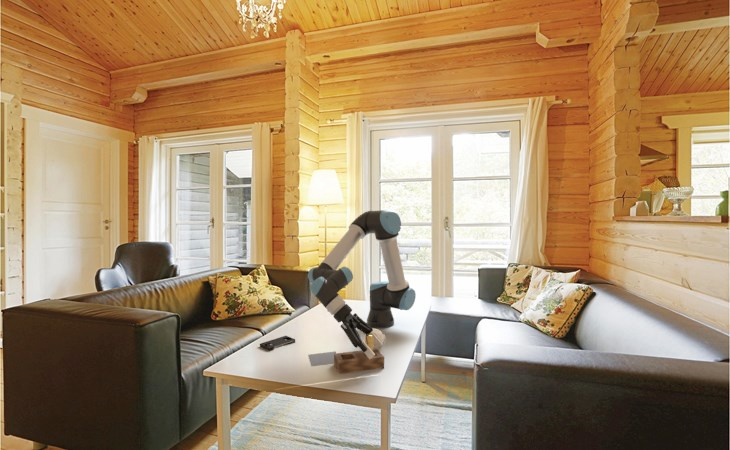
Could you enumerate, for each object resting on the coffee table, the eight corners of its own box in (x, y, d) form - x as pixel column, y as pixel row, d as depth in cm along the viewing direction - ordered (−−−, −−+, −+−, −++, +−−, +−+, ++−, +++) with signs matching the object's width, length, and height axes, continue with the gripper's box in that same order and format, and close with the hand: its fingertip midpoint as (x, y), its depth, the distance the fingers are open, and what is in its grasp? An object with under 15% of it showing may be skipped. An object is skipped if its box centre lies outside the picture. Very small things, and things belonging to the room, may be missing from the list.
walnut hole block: (377, 359, 141) (376, 348, 141) (384, 368, 132) (384, 356, 132) (334, 364, 136) (334, 353, 136) (338, 374, 127) (338, 362, 127)
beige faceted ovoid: (377, 350, 146) (392, 345, 155) (373, 328, 148) (388, 324, 158) (362, 352, 151) (377, 347, 160) (358, 330, 153) (373, 327, 163)
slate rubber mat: (335, 352, 149) (335, 351, 149) (341, 363, 137) (341, 362, 137) (308, 355, 145) (308, 354, 145) (311, 367, 134) (311, 366, 134)
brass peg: (372, 363, 137) (372, 333, 137) (374, 366, 134) (374, 336, 134) (364, 364, 136) (364, 334, 136) (366, 367, 133) (366, 337, 133)
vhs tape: (269, 352, 151) (269, 347, 151) (259, 348, 156) (259, 343, 156) (295, 343, 161) (295, 339, 161) (285, 339, 167) (285, 335, 167)
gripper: (343, 308, 151) (377, 346, 146) (321, 323, 128) (361, 369, 124) (354, 297, 149) (389, 335, 145) (334, 310, 127) (375, 356, 122)
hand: (376, 351), depth 134 cm, fingers open, 11 cm apart
